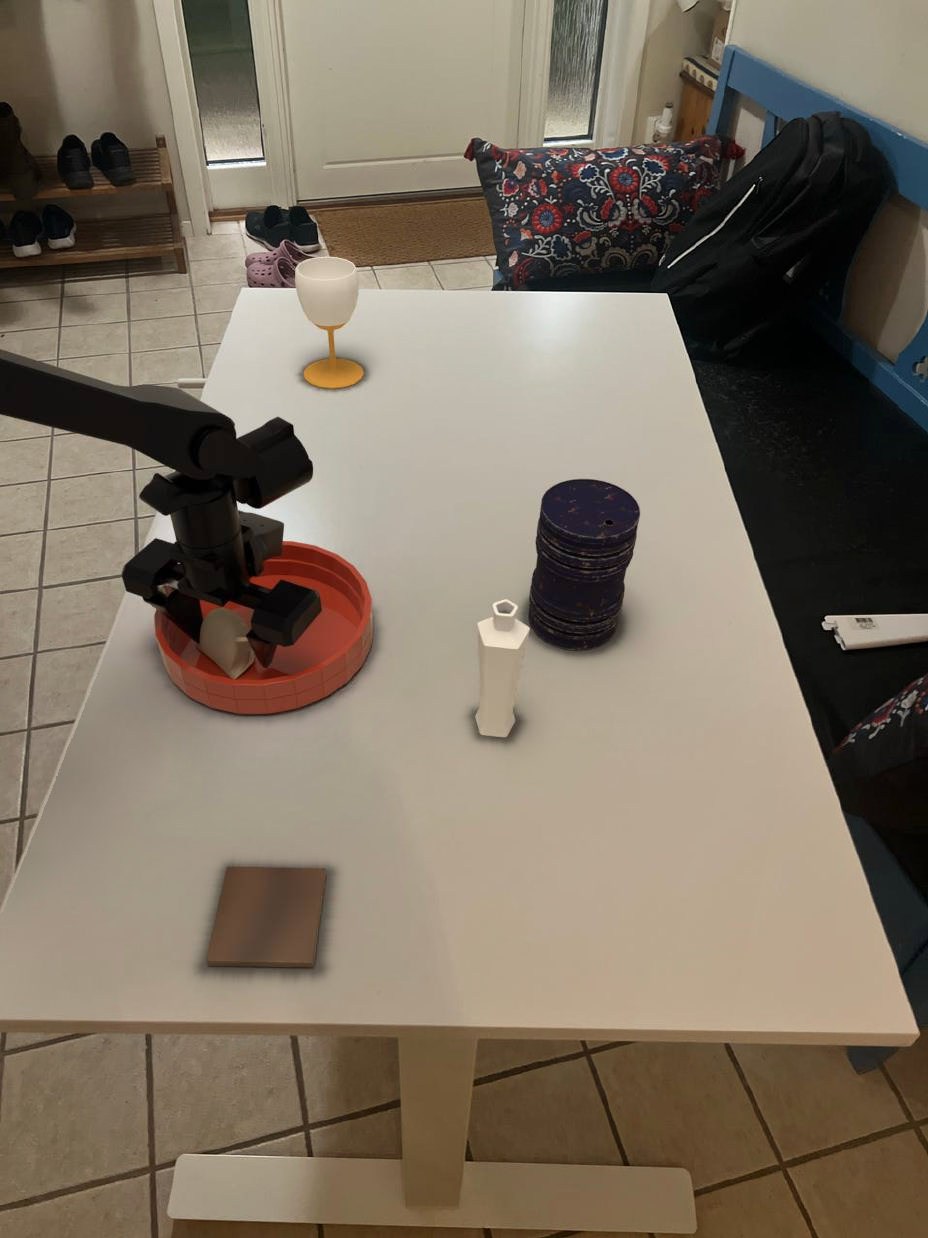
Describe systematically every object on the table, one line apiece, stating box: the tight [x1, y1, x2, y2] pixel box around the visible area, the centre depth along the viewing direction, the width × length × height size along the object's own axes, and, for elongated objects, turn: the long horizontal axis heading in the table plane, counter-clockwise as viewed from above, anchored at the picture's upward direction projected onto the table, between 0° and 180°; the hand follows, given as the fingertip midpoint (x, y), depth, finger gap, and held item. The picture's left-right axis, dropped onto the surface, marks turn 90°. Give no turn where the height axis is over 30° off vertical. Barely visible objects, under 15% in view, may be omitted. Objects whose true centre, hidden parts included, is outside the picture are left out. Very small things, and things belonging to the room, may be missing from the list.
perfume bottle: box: [475, 598, 531, 738], centre depth 80 cm, size 5×4×15 cm
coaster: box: [205, 866, 327, 968], centre depth 70 cm, size 8×8×1 cm
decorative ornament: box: [195, 608, 255, 680], centre depth 88 cm, size 4×8×5 cm, turn 44°
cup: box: [294, 256, 365, 390], centre depth 129 cm, size 9×9×16 cm
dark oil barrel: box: [527, 478, 641, 651], centre depth 91 cm, size 10×10×15 cm
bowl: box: [153, 540, 374, 715], centre depth 91 cm, size 21×21×4 cm
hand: (234, 652), depth 89 cm, fingers closed on decorative ornament, 7 cm apart
